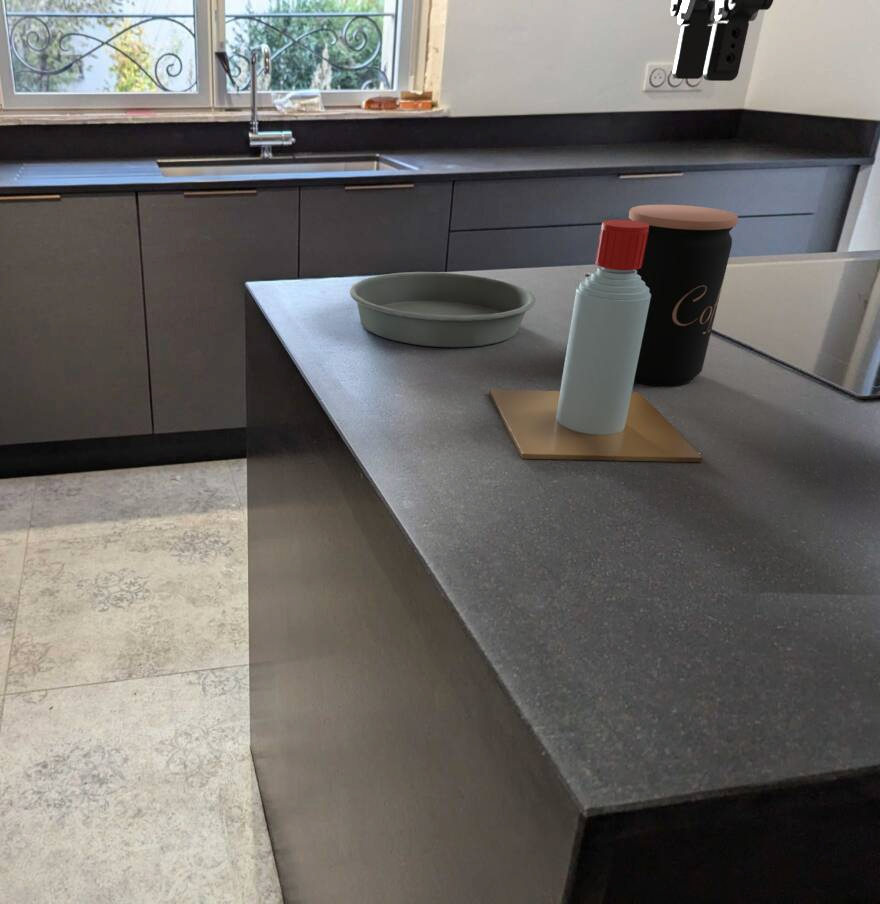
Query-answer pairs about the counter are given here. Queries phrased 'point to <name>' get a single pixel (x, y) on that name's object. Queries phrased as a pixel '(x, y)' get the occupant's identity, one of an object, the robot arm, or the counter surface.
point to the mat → (547, 439)
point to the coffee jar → (680, 288)
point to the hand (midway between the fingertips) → (702, 78)
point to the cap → (622, 244)
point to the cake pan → (441, 308)
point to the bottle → (603, 351)
